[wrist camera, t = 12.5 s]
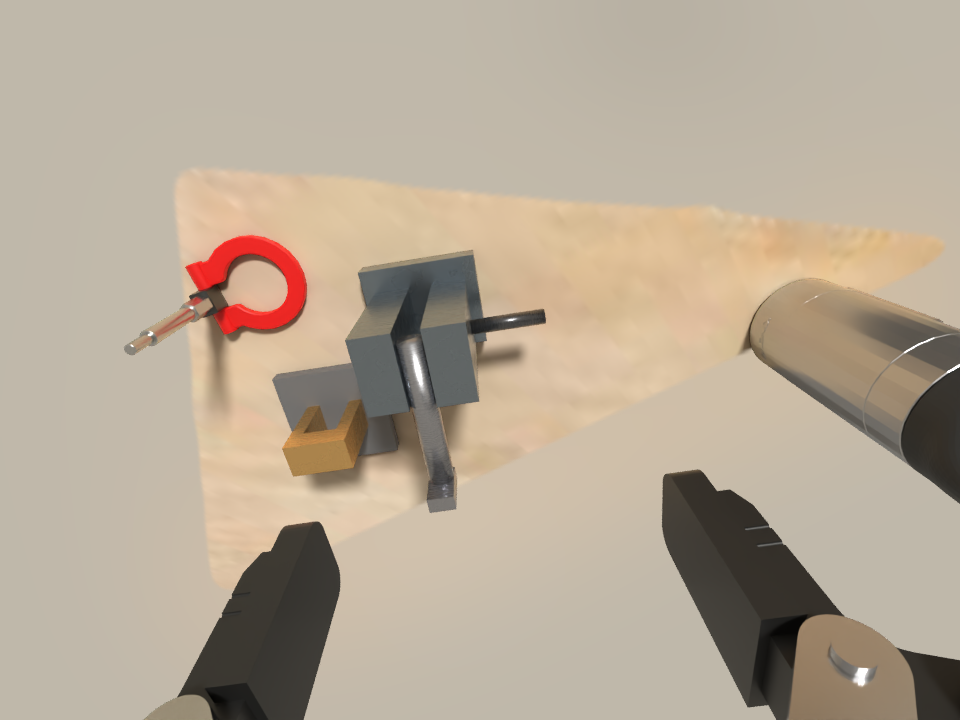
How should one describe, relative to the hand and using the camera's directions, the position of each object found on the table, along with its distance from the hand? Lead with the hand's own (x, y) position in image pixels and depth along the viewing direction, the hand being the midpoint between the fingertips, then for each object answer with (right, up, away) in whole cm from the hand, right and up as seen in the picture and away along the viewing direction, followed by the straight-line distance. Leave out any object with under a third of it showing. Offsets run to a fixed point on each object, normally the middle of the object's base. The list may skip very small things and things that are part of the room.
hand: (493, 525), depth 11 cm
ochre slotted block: (-15, -2, +35) cm, 38 cm away
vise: (-2, +6, +34) cm, 34 cm away
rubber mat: (-15, -1, +36) cm, 39 cm away
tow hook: (-21, +11, +31) cm, 39 cm away
